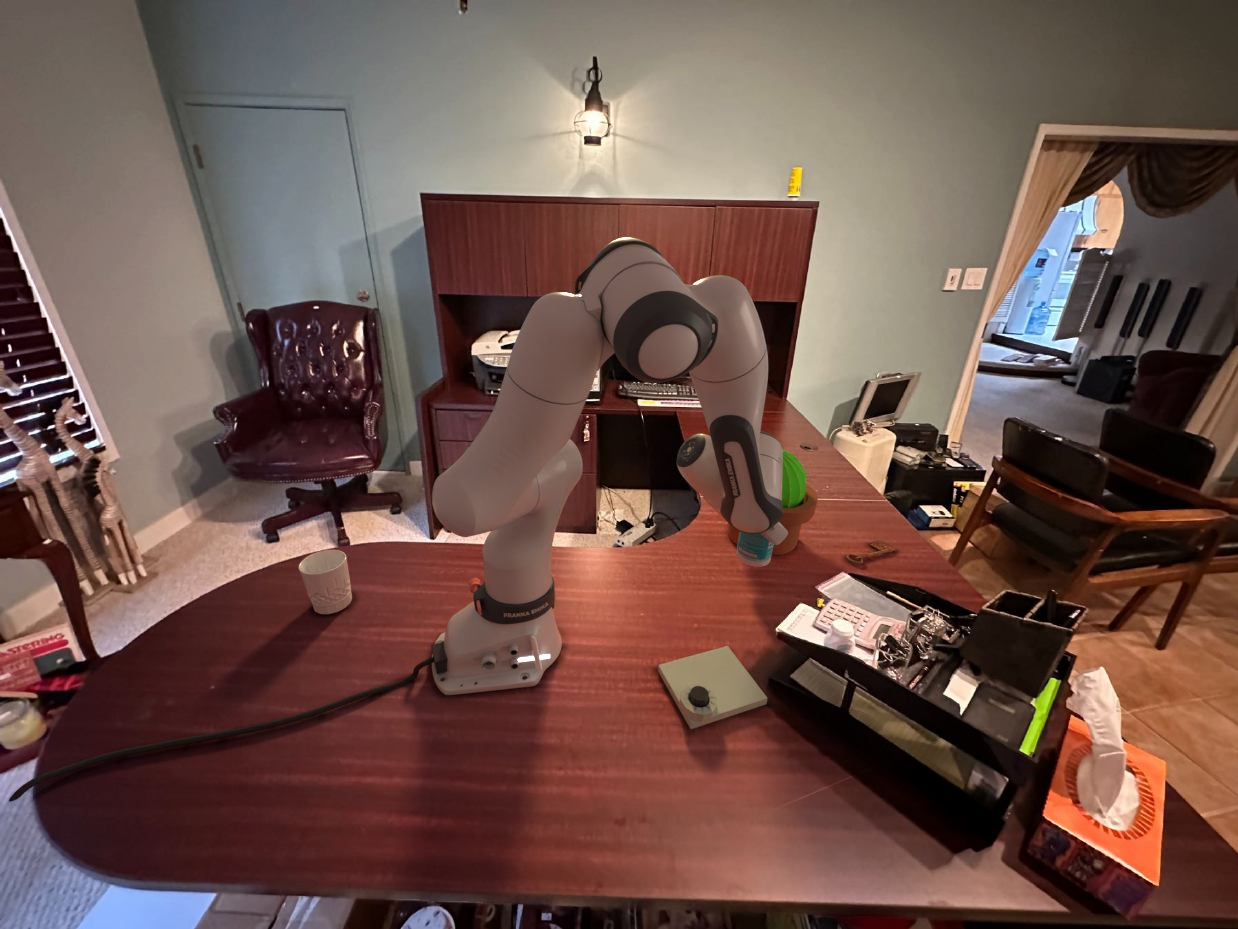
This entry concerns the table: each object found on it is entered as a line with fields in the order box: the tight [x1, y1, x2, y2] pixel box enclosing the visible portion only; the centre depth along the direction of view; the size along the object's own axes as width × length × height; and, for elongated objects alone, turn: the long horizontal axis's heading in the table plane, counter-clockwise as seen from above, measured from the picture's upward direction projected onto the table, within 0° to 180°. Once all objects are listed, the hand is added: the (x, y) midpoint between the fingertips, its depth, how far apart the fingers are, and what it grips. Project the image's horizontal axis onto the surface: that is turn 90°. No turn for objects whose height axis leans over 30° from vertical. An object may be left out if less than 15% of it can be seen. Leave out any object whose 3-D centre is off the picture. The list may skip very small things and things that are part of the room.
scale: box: [657, 645, 768, 730], centre depth 82 cm, size 14×12×3 cm
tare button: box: [690, 686, 709, 708], centre depth 77 cm, size 3×3×2 cm
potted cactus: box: [726, 448, 819, 556], centre depth 121 cm, size 22×22×25 cm
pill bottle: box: [735, 532, 774, 568], centre depth 106 cm, size 8×7×14 cm
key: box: [846, 541, 897, 565], centre depth 121 cm, size 6×1×15 cm
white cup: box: [298, 549, 353, 615], centre depth 96 cm, size 8×8×10 cm
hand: (760, 527), depth 106 cm, fingers closed on pill bottle, 7 cm apart
